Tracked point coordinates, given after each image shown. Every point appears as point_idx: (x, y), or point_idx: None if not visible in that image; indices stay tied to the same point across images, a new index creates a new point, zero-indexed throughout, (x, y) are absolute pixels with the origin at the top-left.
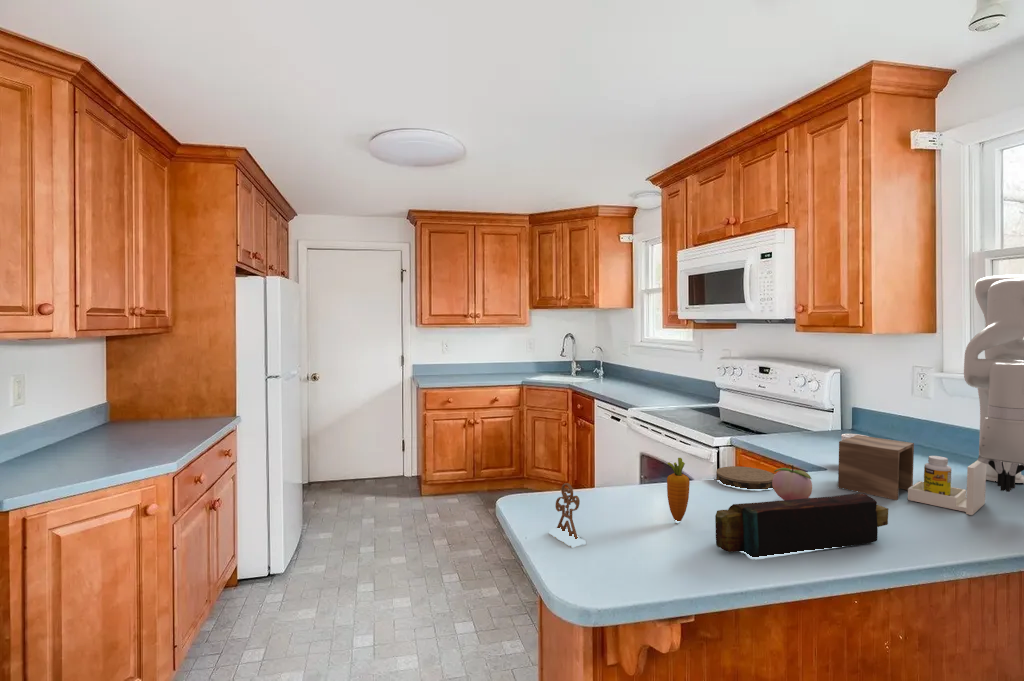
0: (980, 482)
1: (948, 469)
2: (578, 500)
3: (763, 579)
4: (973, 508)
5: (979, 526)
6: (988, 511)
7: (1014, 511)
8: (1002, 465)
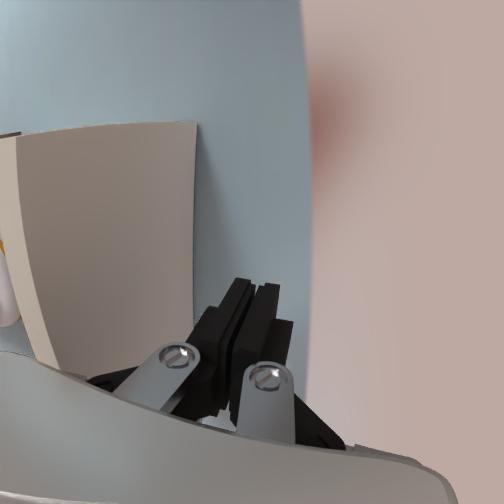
0: (132, 277)
1: (14, 311)
2: None
3: None
4: (185, 338)
5: (228, 408)
6: (223, 236)
7: (307, 157)
8: (171, 400)
